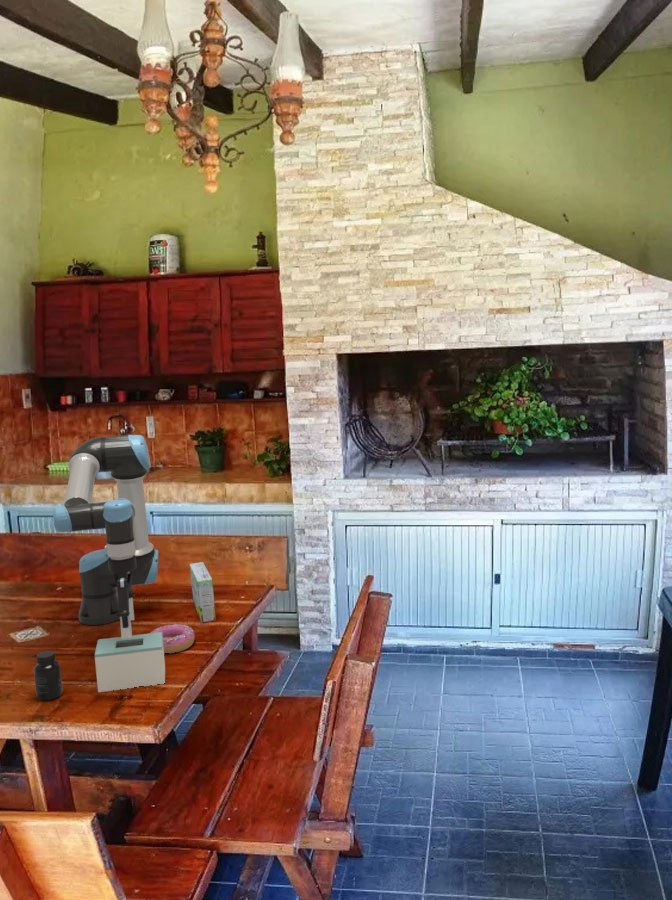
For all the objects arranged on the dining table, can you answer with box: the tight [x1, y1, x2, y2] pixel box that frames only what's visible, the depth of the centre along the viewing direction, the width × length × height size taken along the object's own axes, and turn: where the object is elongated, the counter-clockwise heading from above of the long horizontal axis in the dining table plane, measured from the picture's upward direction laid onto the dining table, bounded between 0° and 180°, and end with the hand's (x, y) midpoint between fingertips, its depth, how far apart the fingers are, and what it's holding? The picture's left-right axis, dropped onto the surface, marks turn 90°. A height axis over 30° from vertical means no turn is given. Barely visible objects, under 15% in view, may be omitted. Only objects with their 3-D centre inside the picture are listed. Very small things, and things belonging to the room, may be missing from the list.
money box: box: [94, 632, 166, 693], centre depth 221 cm, size 11×18×11 cm, turn 102°
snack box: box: [189, 561, 217, 624], centre depth 272 cm, size 21×6×15 cm, turn 18°
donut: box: [150, 623, 196, 655], centre depth 245 cm, size 14×14×5 cm
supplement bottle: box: [33, 650, 64, 702], centre depth 213 cm, size 7×7×12 cm
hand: (128, 628), depth 220 cm, fingers open, 13 cm apart
